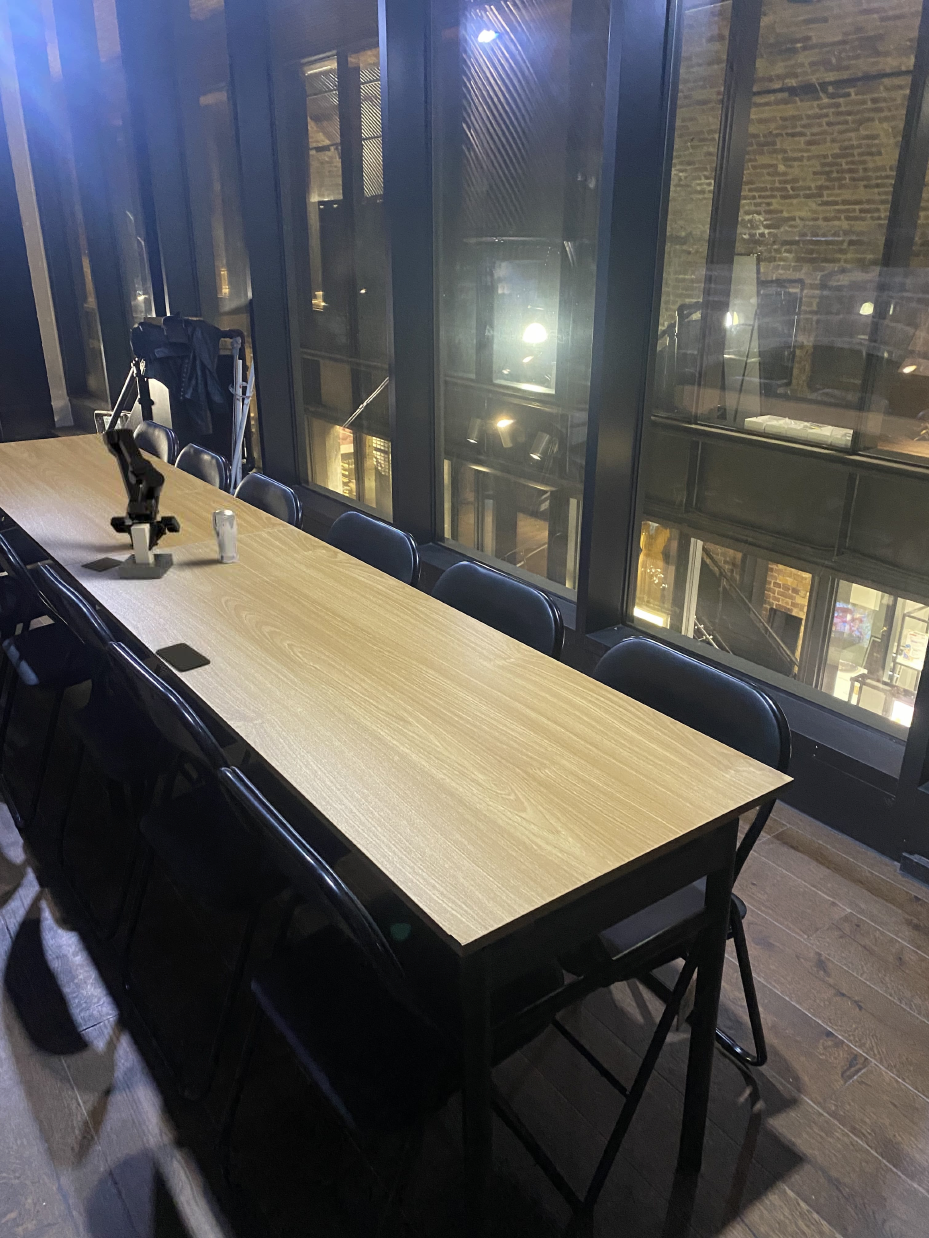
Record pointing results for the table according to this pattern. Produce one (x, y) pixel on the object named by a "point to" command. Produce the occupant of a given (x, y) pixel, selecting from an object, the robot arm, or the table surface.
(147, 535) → the peg
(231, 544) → the beer glass
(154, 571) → the socket block
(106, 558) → the mat
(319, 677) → the table surface
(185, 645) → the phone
